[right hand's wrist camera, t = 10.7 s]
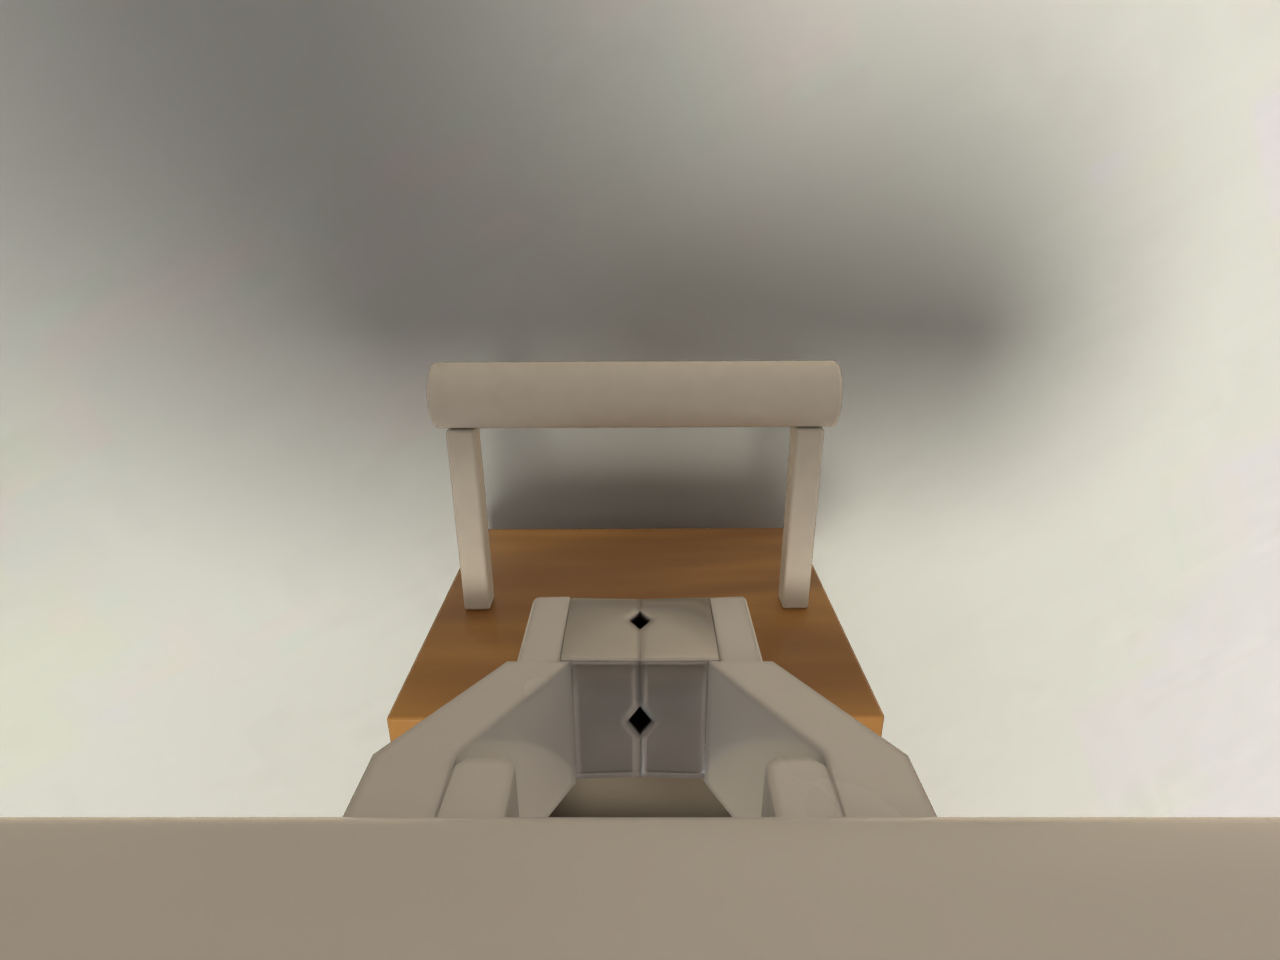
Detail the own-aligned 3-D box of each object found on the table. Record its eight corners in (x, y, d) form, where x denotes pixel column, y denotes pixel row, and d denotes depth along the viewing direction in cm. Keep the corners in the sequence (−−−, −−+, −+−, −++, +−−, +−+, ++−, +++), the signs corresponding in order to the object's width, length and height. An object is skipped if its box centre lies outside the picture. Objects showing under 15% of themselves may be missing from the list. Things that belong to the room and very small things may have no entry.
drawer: (458, 329, 19) (336, 418, 11) (812, 327, 19) (930, 415, 11) (521, 981, 28) (476, 1276, 20) (758, 980, 28) (803, 1274, 20)
